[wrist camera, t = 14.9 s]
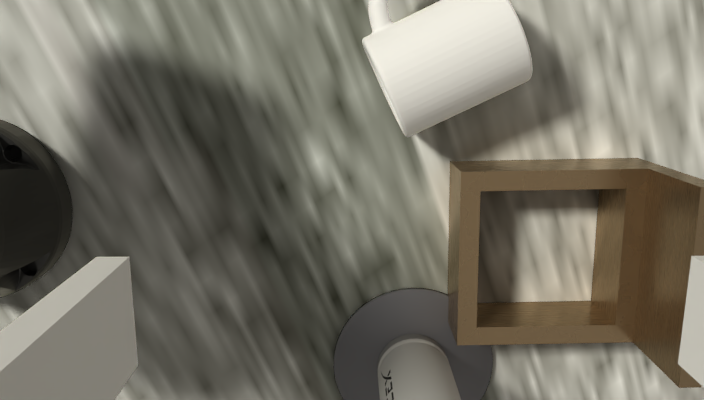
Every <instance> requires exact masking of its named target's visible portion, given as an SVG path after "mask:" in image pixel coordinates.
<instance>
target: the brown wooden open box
mask: <svg viewBox="0 0 704 400" xmlns="http://www.w3.org/2000/svg"><path fill="white" fill-rule="evenodd" d="M581 189H599V200H598V213H597V227H596V241H595V254H594V268H593V282H592V296H591V301H564V302H509V303H477V293H478V259H479V226H480V192H481V191H525V190H581ZM691 256H704V180H702V179H699V178H696V177H693V176H690V175H687V174H684V173H681V172H678V171H675V170H672V169H669V168H666V167H663V166H660V165H657V164H654V163H651V162H648V161H645V160H642V159H639V158H614V159H557V160H500V161H450V196H449V250H448V297H449V302H448V323H449V326H450V328H451V331H452V333H453V336H454V339H455V341H456V344H457V345H507V344H561V343H616V342H633V343H634V344H635V345H636V346H637V347H638V348H639V349H640V350H641V351H642V352H643V353H644V354H645V355H646V356H647V357H648V358H649V359H650V360H652V361H653V362H654V363H655V364H656V365H657V366H658V367H659V368H660V369H661V370H662V371H663V372H664V373H665V374H666V375H667V376H668V377H669V378H670V379H671V380H672V381H673V382H674V383H675V384H676V385H677V386H678V387H679V388H685V387H701V385H700V384H699V383H698V382H697V381H696V380H695V379H694V378H693V377H692V376H691V375H689V374H688V373H687V372H686V371H685V370H684V369H683V368H682V367H681V366H680V365H679V364H678V359H679V351H680V343H681V335H682V327H683V319H684V311H685V304H686V296H687V288H688V280H689V272H690V264H691Z"/></svg>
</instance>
